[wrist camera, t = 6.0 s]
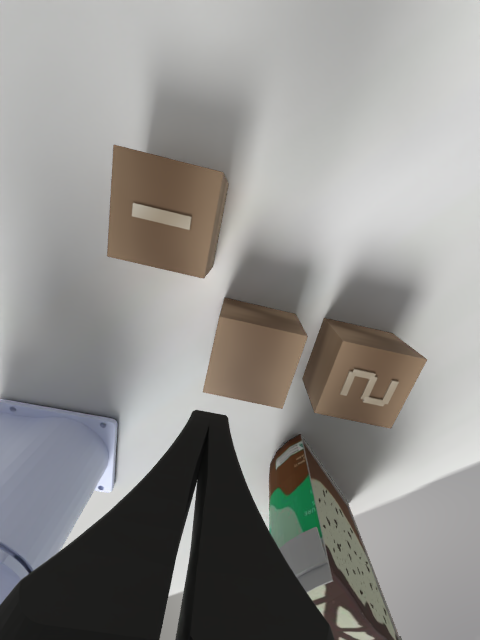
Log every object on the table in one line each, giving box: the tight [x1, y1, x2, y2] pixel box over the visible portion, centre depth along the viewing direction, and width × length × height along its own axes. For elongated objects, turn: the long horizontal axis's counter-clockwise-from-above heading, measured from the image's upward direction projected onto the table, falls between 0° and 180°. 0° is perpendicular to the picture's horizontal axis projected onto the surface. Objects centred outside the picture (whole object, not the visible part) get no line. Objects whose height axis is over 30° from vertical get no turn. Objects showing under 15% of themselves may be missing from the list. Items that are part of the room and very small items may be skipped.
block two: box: [302, 318, 427, 428], centre depth 18 cm, size 5×5×4 cm
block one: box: [107, 145, 229, 278], centre depth 15 cm, size 5×5×4 cm
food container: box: [269, 434, 402, 640], centre depth 19 cm, size 12×6×10 cm, turn 32°
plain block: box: [203, 298, 308, 409], centre depth 17 cm, size 5×5×4 cm
